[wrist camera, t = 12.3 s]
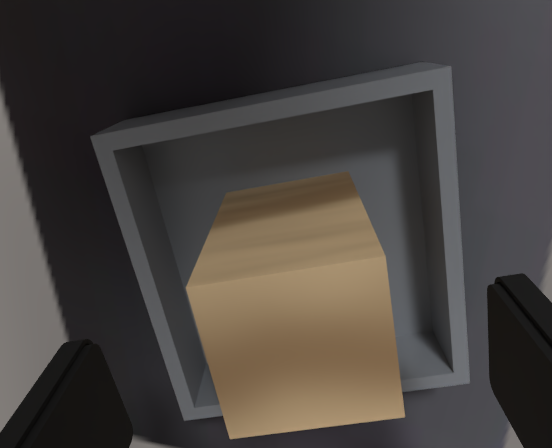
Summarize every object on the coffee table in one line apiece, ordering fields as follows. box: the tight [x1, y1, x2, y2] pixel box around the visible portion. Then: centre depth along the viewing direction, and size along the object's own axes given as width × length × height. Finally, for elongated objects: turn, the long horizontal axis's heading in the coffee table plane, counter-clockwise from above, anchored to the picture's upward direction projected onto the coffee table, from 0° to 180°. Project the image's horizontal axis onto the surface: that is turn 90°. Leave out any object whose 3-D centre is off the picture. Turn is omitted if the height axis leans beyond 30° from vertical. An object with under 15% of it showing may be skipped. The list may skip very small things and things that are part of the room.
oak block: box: [186, 171, 405, 439], centre depth 16 cm, size 5×5×8 cm
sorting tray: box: [90, 62, 470, 421], centre depth 19 cm, size 12×12×4 cm
